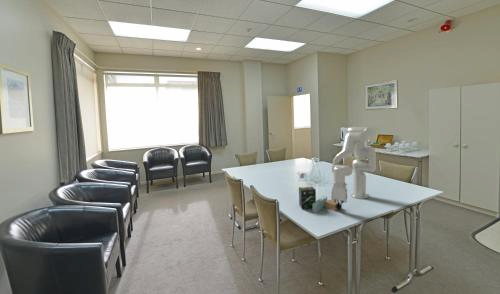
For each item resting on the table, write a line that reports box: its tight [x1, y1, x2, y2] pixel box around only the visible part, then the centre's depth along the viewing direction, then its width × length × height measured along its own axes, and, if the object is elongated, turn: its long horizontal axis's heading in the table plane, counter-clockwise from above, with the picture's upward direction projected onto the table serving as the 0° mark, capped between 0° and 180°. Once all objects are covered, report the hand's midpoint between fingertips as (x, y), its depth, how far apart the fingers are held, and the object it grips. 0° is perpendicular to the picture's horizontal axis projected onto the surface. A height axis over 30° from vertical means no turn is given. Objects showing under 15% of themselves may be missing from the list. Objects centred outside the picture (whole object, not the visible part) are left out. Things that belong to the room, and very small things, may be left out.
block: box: [324, 198, 340, 212], centre depth 180 cm, size 7×9×5 cm
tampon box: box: [298, 186, 317, 210], centre depth 184 cm, size 11×9×15 cm
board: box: [312, 195, 328, 214], centre depth 181 cm, size 20×3×6 cm, turn 141°
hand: (339, 209), depth 173 cm, fingers closed
